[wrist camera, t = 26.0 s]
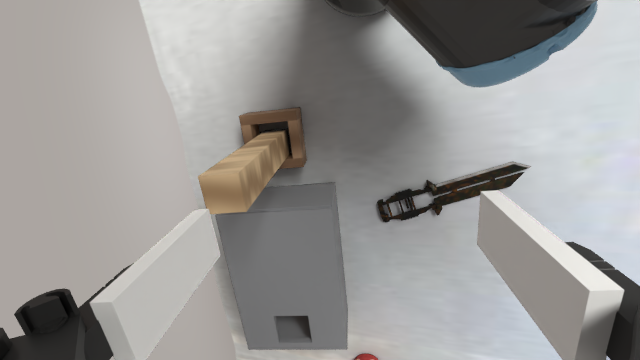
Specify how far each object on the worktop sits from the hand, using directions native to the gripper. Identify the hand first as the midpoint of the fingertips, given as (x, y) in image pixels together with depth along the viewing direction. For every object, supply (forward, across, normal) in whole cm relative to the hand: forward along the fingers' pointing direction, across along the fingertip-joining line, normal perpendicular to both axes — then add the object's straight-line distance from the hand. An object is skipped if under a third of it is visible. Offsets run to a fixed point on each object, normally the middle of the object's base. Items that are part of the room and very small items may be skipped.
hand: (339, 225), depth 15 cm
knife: (+37, +17, -14) cm, 43 cm away
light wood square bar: (+37, -12, -3) cm, 39 cm away
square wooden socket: (+37, -12, -2) cm, 39 cm away
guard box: (+37, -12, -25) cm, 46 cm away
